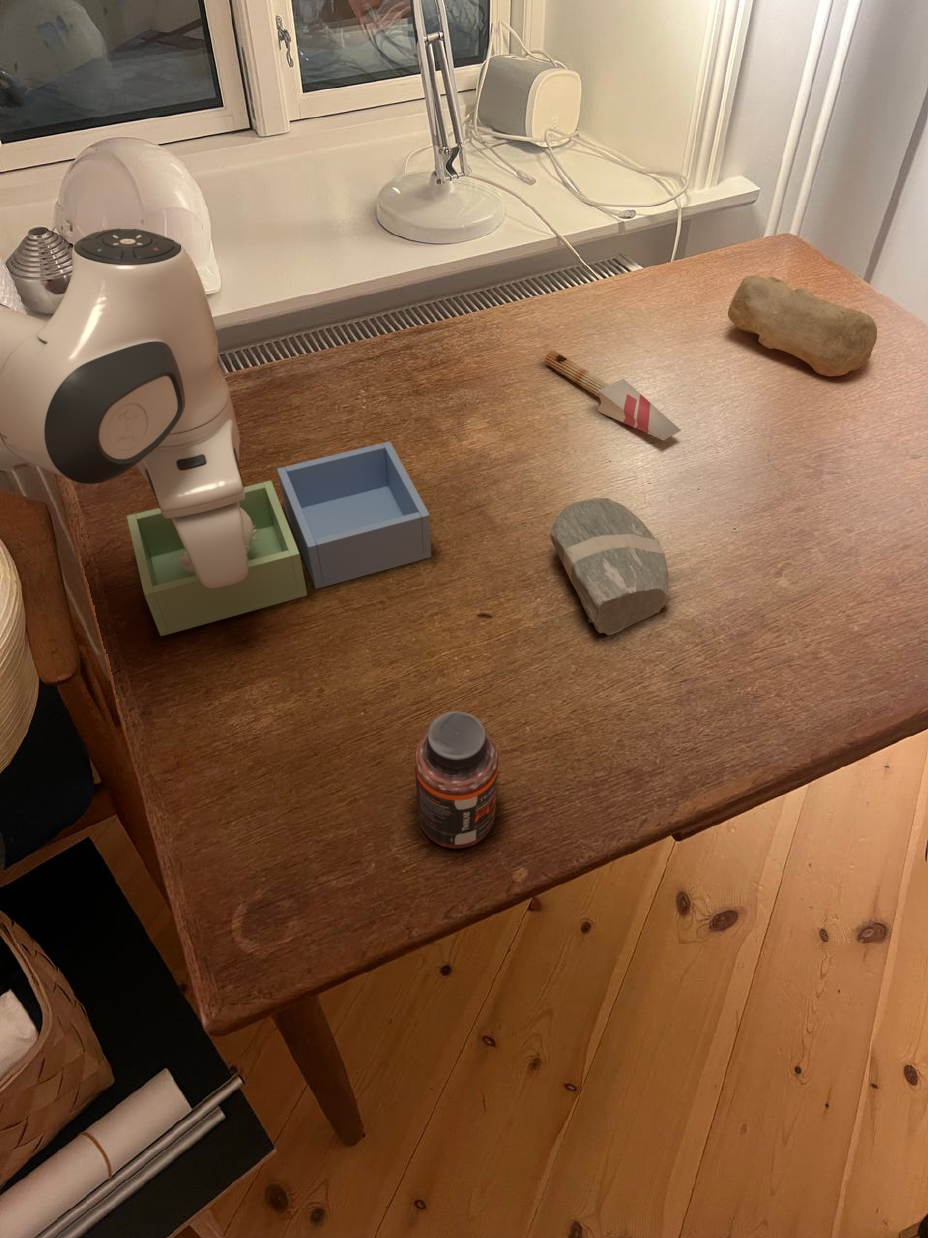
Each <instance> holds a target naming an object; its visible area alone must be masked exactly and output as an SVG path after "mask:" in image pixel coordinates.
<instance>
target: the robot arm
mask: <svg viewBox="0 0 928 1238" xmlns="http://www.w3.org/2000/svg"><path fill="white" fill-rule="evenodd" d="M71 265H72V268H71V269H72V270H71V275H70V279H69V282H68V284H67V288H66V290H65V293H64V295H63V297H62V299H61V301H60V303H59V305H58V307H57V309H56V310H55V312H54V313H53V315H52V316H51V317H50V319H49V320H48V321H45V320H43V319H40V318H38V317H35V316H31V315H29V314H27V313H24V312H22V311H21V312H20V311H18V310H15V309H13V308H11V307H9V306H7V305H5V304H3V303H1V302H0V452H2V453H4V454H6V455H9V456H11V457H14V458H16V459H18V460H21V461H23V462H25V463H28V464H30V465H33V466H36V467H38V468H40V469H43V470H45V471H47V472H50V473H52V474H55V475H58V476H60V477H62V478H65V479H68V480H71V481H73V482H76V483H80V484H85V485H95V484H101V483H105V482H108V481H111V480H113V479H115V478H118V477H119V476H121V475H124V473H126V472H128V471H129V470H130V469H132V468H134V467H136V468H137V469H138V470H139V472H140V474H141V475H142V477H143V478H144V479H145V481H146V482H147V483H148V485H149V486H150V489H151V491H152V493H153V495H154V497H155V501H156V503H157V506H158V508H160V509H161V512H162V515H163V517H164V518H166V519H170V518H171V519H172V521H173V523H174V526H175V528H176V530H177V533H178V535H179V537H180V539H181V542H182V544H183V546H184V548H185V550H186V553H187V555H188V557H189V559H190V561H191V563H192V565H193V568H194V570H195V572H196V574H197V576H198V578H199V580H200V582H201V583H202V585H203V586H204V587H205V588H206V589H209V590H214V589H219V588H224V587H228V586H231V585H234V584H237V583H240V582H243V581H245V580H246V578H247V576H248V561H247V553H246V545H245V537H244V530H243V523H242V516H241V510H240V505H239V501H242V500H244V499H245V492H244V487H245V485H244V482H243V478H242V474H241V469H240V462H239V461H240V444H241V436H240V432H239V426H238V422H237V417H236V413H235V409H234V406H233V401H232V400H233V399H232V397H231V391H230V387H229V384H228V381H227V379H226V377H225V376H224V374H223V372H222V371H221V369H220V367H219V363H218V362H219V361H218V359H219V358H218V357H219V339H218V335H217V332H216V331H217V330H216V326H215V322H214V318H213V314H212V311H211V307H210V302H209V300H208V297H207V296H208V295H207V292H206V290H205V286H204V284H203V280H202V279H201V275H200V274H199V271H198V270H197V269H198V268H197V267H196V265H195V263H194V261H193V259H192V257H191V256H190V254H189V252H188V251H187V250H186V249H185V247H184V246H183V245H182V244H180V243H179V242H177V241H175V239H172V238H169V237H167V236H164V235H161V234H158V233H155V232H152V231H147V230H143V229H140V228H139V229H138V228H111V229H110V228H109V229H103V230H99V231H95V232H92V233H89V234H88V235H86V236H84V237H82V238H80V239H79V240H78V241H75V243H74V244H73V246H72V250H71Z"/></svg>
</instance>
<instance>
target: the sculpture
mask: <svg viewBox="0 0 928 1238" xmlns="http://www.w3.org/2000/svg"><path fill="white" fill-rule="evenodd" d="M727 316H728V319H729V321H730V322H731V323H732V324H733V325H735V326H736V327H737V328H738V329H739V330H741V331H742V332H745V333H746V332H747V333H749V334H757V335H759V336H758V339H757V341H758V343H759V344H760V345H762V346H764V347H766V348H767V349H770V350H774V349H777V350H780V351H782V352H784V353H785V352H786V353H788V354H790V355H792V356H794V357H796V358H798V359H800V360H802V361H804V362H805V363H807V364H808V365H809V366H810V367H811V369H813V371H814V372H815V373H817V374H819V375H820V376H825V377H839V376H844V375H847V374H848V373H849V372H851V371H856V370H858V369H859V368H860V367H861V366H863V365H865V364H866V363H868V361H869V360H870V359H871V356H872V353H873V350H874V347H875V345H876V343H877V338H878V328H877V325H876V322H875V321H874V318H872V316H871V315H869V314H867V313H865V312H863V311H859V310H856V309H852V308H848V307H845V306H841V305H838V304H835V303H833V302H830V301H827V300H825V299H821V298H819V297H817V296H815V295H814V293H813V292H812V291H810V290H808V289H806V288H804V287H800V288H795V290H794V289H792V288H791V287H790V286H789V285H788V284H787V283H786V282H785V281H784V280H781V279H779V278H778V277H777V278H776V277H773V276H769V277H768V278H765V277H762V276H760V275H747V276H745V277H744V278H743V279H742V281H741V283H740V285H739V286H738V287H737V289H736V291H735V292H734V295H733V297H732V299H731V301H730V304H729V307H728V310H727Z"/></svg>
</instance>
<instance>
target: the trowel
mask: <svg viewBox="0 0 928 1238" xmlns="http://www.w3.org/2000/svg"><path fill="white" fill-rule="evenodd" d="M544 360H545V361H544V363H545V364H546V365H547V366H548V367H551V369H554V370H555V371H556V372H559V373H560V374H561V375H563V376H565V377H566V378H568V379H569V380H571V381H572V382H574V383H576V384H577V385H579V386H580V387H582V388H583V389H584V390H586V391H588V392H590V393H591V394H593V395H594V396H596V397H598V398H599V400H600V404H599V406H598V408H597V410H596V412H598V413H601V414H602V415H605V416H607V417H610V418H611V419H614V420H616V421H618V422H621V423H623V424H626V425H627V426H630V427H632V428H635V429H637V430H639V431H641V432H643V433H645V434H648V435H650V436H652V437H654V438H656V439H658V440H661V441H666V439H669V438H670V437H672V436H674V435H676V434H678V433H679V432H682V430H681V428H680V427H678V426H677V425H676V424H675V423H674V422H673V421H671V420H670V419H669V418H668V417H667V415H665V414H664V413H662V412H661V410H659V409H658V408H657V407H656V406H655V405H653V403H651V402H650V401H649V400H648V399H647V398H646V397H645V396H644V395H643V394H642V393H640V392H639V391H638V390H637V389H636V388H635V387H634V386H633V385H632V384H631V383H629V382H628V381H627V380H626V379H625V378H621V379H619V380H617V381H615V382H613V383H611V384H609V383H607V382H606V381H604V380H603V379H601V378H599V377H597V376H596V375H594V374H593V373H591V372H590V371H588V370H587V369H585V368H584V367H582V366H580V365H579V364H577V363H576V362H574V361H572V360H571V359H569V358H567V357H565V356H564V355H562V354H561V353H559V352H558V351H556V350H553V349H552V350H550V351H548V353H547V354H546V356H545V359H544Z"/></svg>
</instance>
